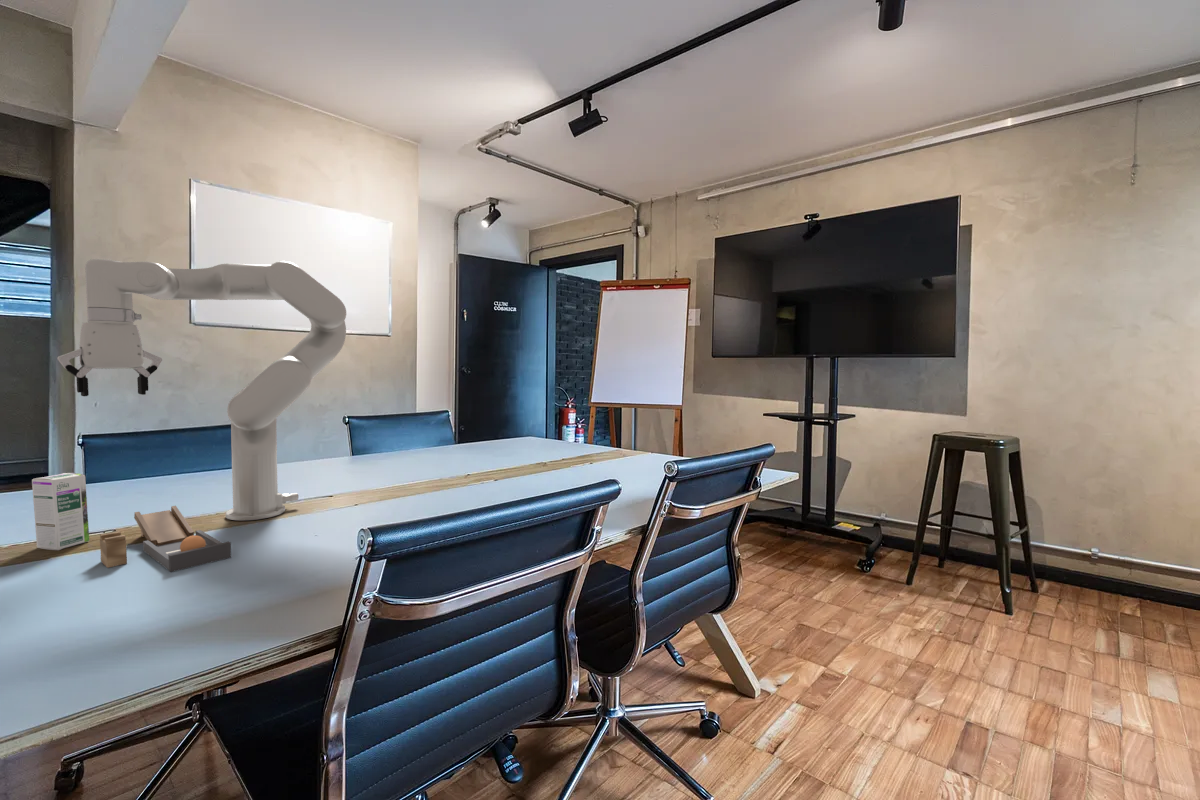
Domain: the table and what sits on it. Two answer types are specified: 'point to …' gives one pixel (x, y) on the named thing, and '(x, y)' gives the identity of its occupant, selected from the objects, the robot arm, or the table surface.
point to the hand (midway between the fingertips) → (114, 395)
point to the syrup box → (60, 511)
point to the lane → (188, 553)
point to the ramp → (163, 526)
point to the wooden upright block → (113, 549)
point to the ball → (192, 543)
